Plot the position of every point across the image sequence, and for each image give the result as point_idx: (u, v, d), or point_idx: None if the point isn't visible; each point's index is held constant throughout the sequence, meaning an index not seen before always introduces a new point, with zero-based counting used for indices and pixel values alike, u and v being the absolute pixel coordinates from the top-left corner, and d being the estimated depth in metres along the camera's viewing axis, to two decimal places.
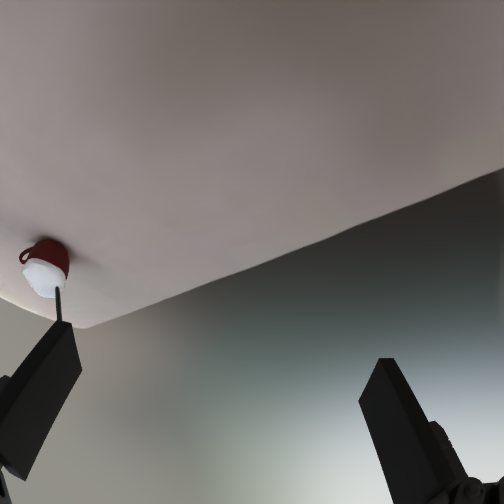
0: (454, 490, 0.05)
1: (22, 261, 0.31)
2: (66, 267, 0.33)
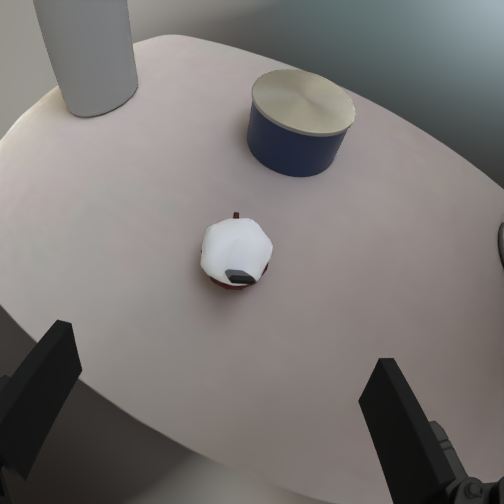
0: (454, 490, 0.05)
1: (238, 217, 0.29)
2: (242, 288, 0.28)
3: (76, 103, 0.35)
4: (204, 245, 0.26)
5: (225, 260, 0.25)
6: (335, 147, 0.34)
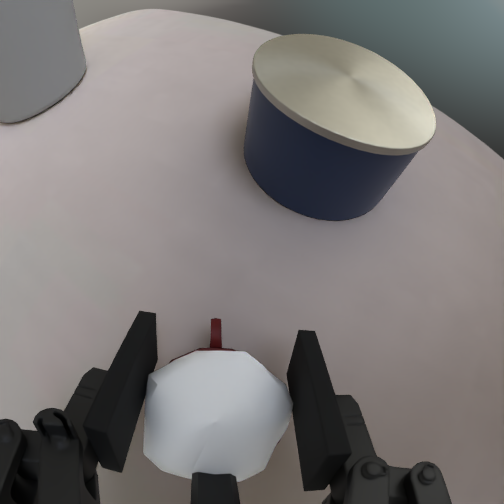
0: (350, 472, 0.07)
1: (220, 333, 0.14)
2: None
3: None
4: (146, 417, 0.10)
5: (191, 460, 0.09)
6: (401, 172, 0.18)
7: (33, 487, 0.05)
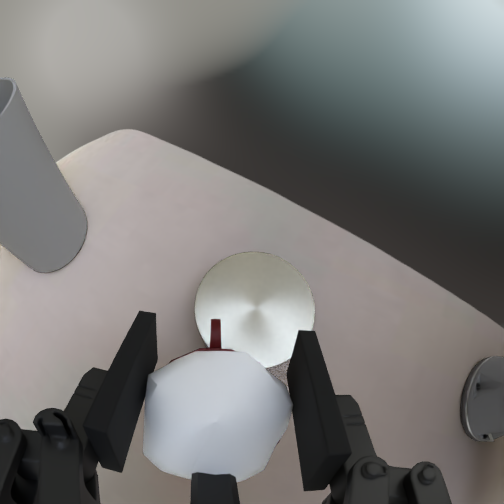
0: (350, 472, 0.07)
1: (220, 334, 0.14)
2: None
3: (26, 263, 0.34)
4: (145, 417, 0.10)
5: (191, 460, 0.09)
6: None
7: (33, 487, 0.05)
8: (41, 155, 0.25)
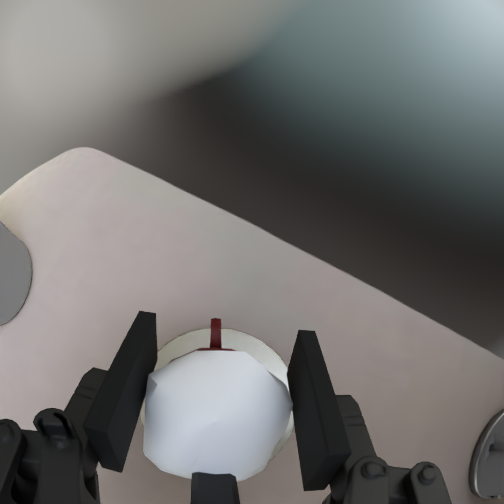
0: (350, 472, 0.07)
1: (220, 333, 0.14)
2: None
3: None
4: (146, 417, 0.10)
5: (191, 460, 0.09)
6: None
7: (33, 487, 0.05)
8: None
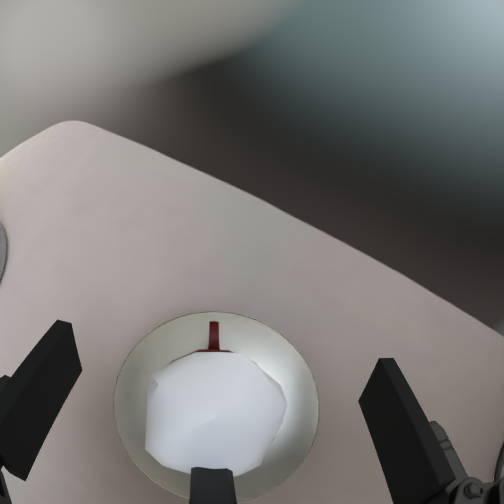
0: (454, 490, 0.05)
1: (218, 336, 0.14)
2: None
3: None
4: (147, 415, 0.11)
5: (190, 455, 0.10)
6: None
7: None
8: None
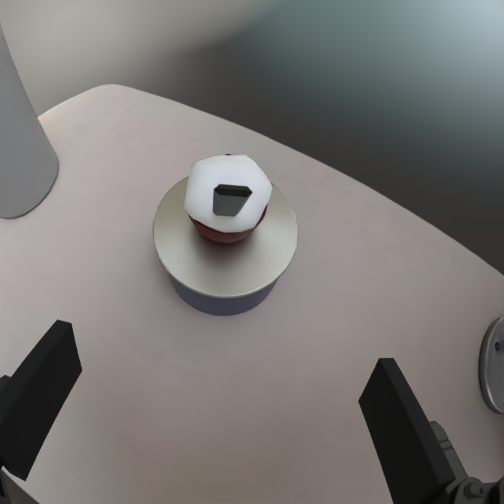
0: (454, 490, 0.05)
1: None
2: (235, 237, 0.22)
3: None
4: (188, 182, 0.21)
5: (213, 196, 0.20)
6: (267, 289, 0.28)
7: None
8: (12, 80, 0.20)
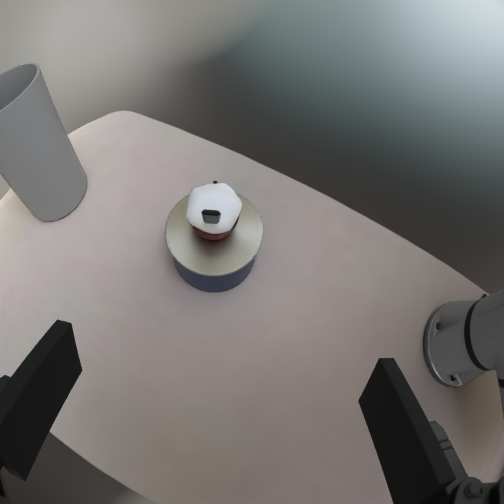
0: (454, 490, 0.05)
1: None
2: (218, 237, 0.35)
3: (35, 212, 0.42)
4: (189, 202, 0.34)
5: None
6: (243, 272, 0.40)
7: None
8: (55, 119, 0.33)
